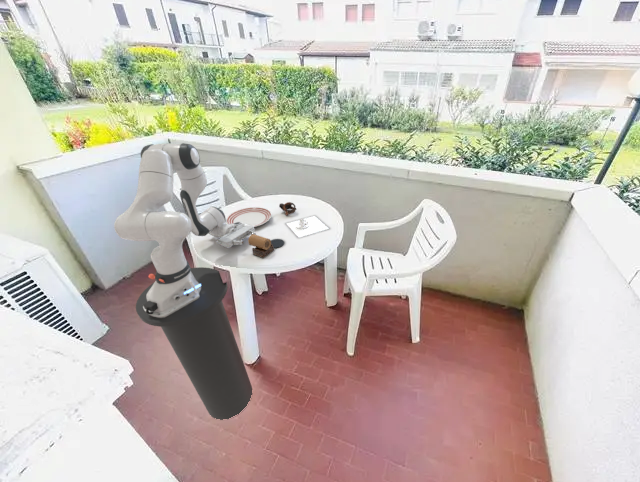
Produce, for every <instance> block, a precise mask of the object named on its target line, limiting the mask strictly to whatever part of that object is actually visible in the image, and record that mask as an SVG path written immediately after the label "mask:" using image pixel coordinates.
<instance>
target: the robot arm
mask: <svg viewBox="0 0 640 482" xmlns="http://www.w3.org/2000/svg"><path fill="white" fill-rule="evenodd" d="M200 156H201V155H200V153H199V150H198V149H197V148H196V147H195V146H194V145H193V144H190V143H186V142H182V143H176V142H175V143H174V142H173V143H172V142H171V143H170V142H162V143H156V144H153V143H152V144H147V145H145V146H143V147H142V148H141V151H140V162H139V168H138V179H137V180H138V181H137V190H136V193H135V194H136V195H135V196H134V199H133V200H132V203H131V204H130V206H129V207H128V208H127V209H126V210H125V211H124V212H123V213H121V214H120V215H118V216H117V217H116V219H115V221H114V223H113V226H114V227H113V228H114V231H115V233H116V234H117V236H118V237H119V238H121V239H123V240H126V241H134V242H150V241H155V242H157V243H158V245H157V246H156V247H154V248H153V249H152V250H151V253H150V260H151V262H152V264H153V266H154V268H155V270H156V271H155V274H154V273H149V274H148V279H150V280H155V281H154V282H153V283H154V284H153V283H152V284H153V285H152V287H151V288H150V290H149V291H148V293H147V295H146V299H147V302H146V303H145V304H143V309H144V311H145V312H146V313H147V314H149V315H151V316H153V317H157V318H164V317H167V316H168V315H170V314H172V313H174V312H176V311H177V310H179V309H181V308H183V307H184V306H186V305H188V304H190V303H191V302H193V301H195V300H197V299H198V298H199V297H200V295H199V293H200V290H201V284H199V283H198V281H197V280H196V279H195V277H194V276H193V274H192V272H191V268H192V267H191V265H190V263H189V261H188V260H187V259H186V256H185V253H184V250H183V244H184V243H183V242H184V240H185V239H186V238H188V237H189V235H190V234H191V233H192V234H193V235H194V236H197V237H206V236H207V235H209V236H213V237H215V238H218V239H217V240H216V242H215V243H216V244H217V245H221V246H222V247H224V248H226V249H230V248H232V247H233V246H234V245H235V246H237V245H239V246H242V245H244V241H243V240H244V239H245V238H247V237H250V236H251V235H252V234H254V235H257V233H256V231H255V227H254V226H253V225H250V224H246V223H243V224H242V222H237V223H233V224H227V223H226V219H227V218H226V215H225V213H224V211H223V210H222V209H221V208H218V207H216V206H209V207H207V208H206V209H205V210H203V211H202V212H201V213H199V211H198V208H197V201H198V199H199V198H200V196H201V194H202V193H203V192H204V190H205V189H206V188H207V185H208V178H207V176H206V173H205V171H204V169H203V167H202V164H201V157H200ZM174 172H176V175H177V177H178V178H179V181H180V192H179V197H180V200H181V204H182V207H183V210H184V212H179V211H174V210H173V211H172V210H162V211H161V208H162V207H163V206H164V205H166V204H168V203H170V202H171V200H173V197H174Z"/></svg>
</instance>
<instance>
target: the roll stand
mask: <svg viewBox="0 0 640 482" xmlns="http://www.w3.org/2000/svg"><path fill="white" fill-rule="evenodd" d="M274 251H275V248H274V247H273V244H271V246H270V248H269V249H268V250H264V249H261V248H258V247H252V248H251V252H252V255H253V256H257V257H259V258H262V259H264V258H266V257H267V256H268V255H270V254H271V253H272V252H274Z"/></svg>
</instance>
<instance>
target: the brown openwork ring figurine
mask: <svg viewBox="0 0 640 482" xmlns="http://www.w3.org/2000/svg"><path fill="white" fill-rule="evenodd" d="M278 206H279V208H280V209H281V210H282V212H285V216H289V215H291V214H294V212H296V210H297V208H296V207H297V206H296V205H295V203H293V202H292V201H291V202H290V201H288V202H285V203H281V202H280V203H279V205H278Z"/></svg>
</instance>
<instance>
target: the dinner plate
mask: <svg viewBox="0 0 640 482" xmlns="http://www.w3.org/2000/svg"><path fill="white" fill-rule="evenodd" d="M272 215H273V213H272V211H271V210H270V209H268V208H265V207H261V206H253V207H250V206H249V207H245V208H241V209H238V210H236V211H233V212H231V213H230V214H229V215H228V216H227V218H226V224H233V223H237V222H242V224H243V223H246V224H250V225H253V226H254V228H256V227H259V226H262V225H264V224H266V223H268V221H270V220H271V218H272Z"/></svg>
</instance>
